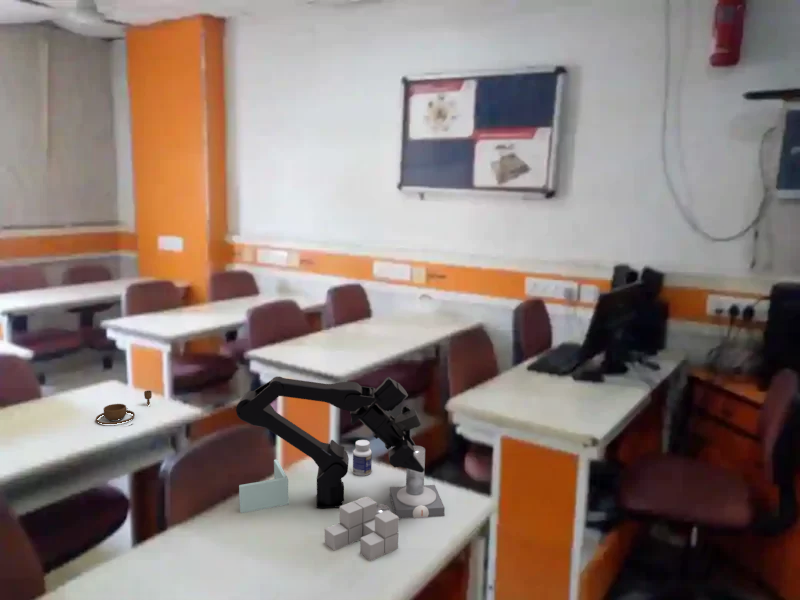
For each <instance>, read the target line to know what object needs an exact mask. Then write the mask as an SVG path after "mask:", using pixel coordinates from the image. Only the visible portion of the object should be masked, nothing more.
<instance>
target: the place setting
mask: <svg viewBox="0 0 800 600" xmlns="http://www.w3.org/2000/svg"><path fill="white" fill-rule="evenodd" d="M143 395H144V399H145V400H146V405H147V404H148V405H149V404H150V405H151V402H150V401H151V399H152V397H153V394H152V390H145V391H144V393H143ZM126 408H127V405H126V404H123V403H112V404H109V405H106V406H104V407H103V412H102V413H100V414H98V415H97V416H96V417H95V421H96V423H97V422H99V423H102V424H117V423H122V422H126V421H129V420H131V419H132V420H134V418H135V412H134V411H133V410H129V409H126ZM126 412H127V413H131V414H133V416H130V417H129V418H127V419H125V420H122V419H123V418H124V417H125V416H126V415H127V414H126ZM102 415H104V416H105V417H104V418H105V419H106V420H118V419H121V418H122V419H121V420H119V421H110V422H109V421H108V422H106V421H105V422H104V421H101V420H99V421H98V420H97V419H98V418H99V417H100V416H102ZM132 420H131V421H132Z"/></svg>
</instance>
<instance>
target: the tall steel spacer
mask: <svg viewBox="0 0 800 600" xmlns="http://www.w3.org/2000/svg"><path fill="white" fill-rule="evenodd" d="M413 448H414V456H415V457H416V458H417V460H418V461H419V462H420V464H421V465H422V467H423V468H424V471H423V472H422V473H421V472H417V471H414V470H411V469H407V468H406V473H405V474H406V477H405V486H406V492H407V493H408V494H410V495H421V494H423V492H424V485H425V468H426V467H425V464H426V448H425V447H423V446H421V445H416V446H413Z"/></svg>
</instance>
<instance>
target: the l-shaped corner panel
mask: <svg viewBox="0 0 800 600" xmlns="http://www.w3.org/2000/svg"><path fill="white" fill-rule="evenodd" d="M273 473H274V474H273V476H274V478H273V479H268V480H263V481H256V482H250V483H245V484H244V483H243V484H239V486H238V489H239V490H238V493H239V496H238V497H239V512H240V514H245V513H249V512H255V511H261V510H265V509H266V510H267V509H271V508H277V507H282V506H287V505H289V478H288V476H287V474H286V473H285V471H284V469H283V467H282V465H281V463H280V461H279V460H278V459H274V460H273Z"/></svg>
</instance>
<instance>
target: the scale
mask: <svg viewBox="0 0 800 600" xmlns="http://www.w3.org/2000/svg"><path fill="white" fill-rule="evenodd" d="M389 497H390V500H391V501H390V502H391V504H392V507H393V511H394V514H395V515H397V516H398V517H399V519H411V518H414V519H421V518H422V519H423V518H428V517H431V518H432V517H442V516H445V508H446V507H445V505H444V503H443V501H442V497H441V496H440V494H439V491H438V488H437V487H436V485H435V484H424V492H423V494H421V495H410V494H408V493H407V492H406V485H403V486H390V487H389Z"/></svg>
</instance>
